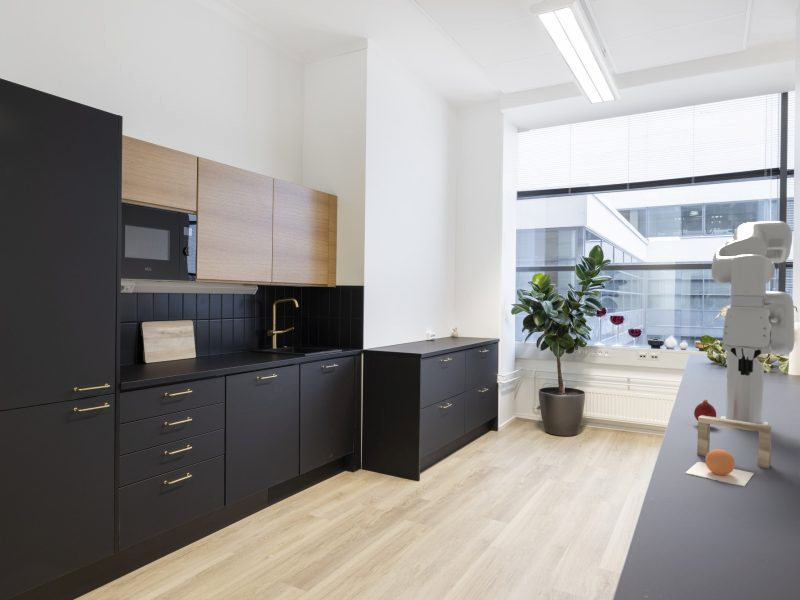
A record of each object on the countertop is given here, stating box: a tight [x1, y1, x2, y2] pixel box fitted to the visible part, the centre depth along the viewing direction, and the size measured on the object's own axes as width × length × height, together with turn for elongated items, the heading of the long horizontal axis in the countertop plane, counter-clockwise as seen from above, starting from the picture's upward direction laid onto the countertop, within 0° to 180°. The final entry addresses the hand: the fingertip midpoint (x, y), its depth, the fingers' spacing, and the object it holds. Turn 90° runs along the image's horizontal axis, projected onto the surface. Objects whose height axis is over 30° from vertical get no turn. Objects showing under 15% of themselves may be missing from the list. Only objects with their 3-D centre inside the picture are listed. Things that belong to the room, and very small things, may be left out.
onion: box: [693, 399, 717, 422], centre depth 160 cm, size 6×6×8 cm
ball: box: [704, 448, 736, 475], centre depth 116 cm, size 6×6×6 cm
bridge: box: [696, 415, 773, 469], centre depth 127 cm, size 3×14×9 cm, turn 48°
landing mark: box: [684, 461, 755, 488], centre depth 116 cm, size 11×11×1 cm
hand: (745, 374), depth 136 cm, fingers closed
